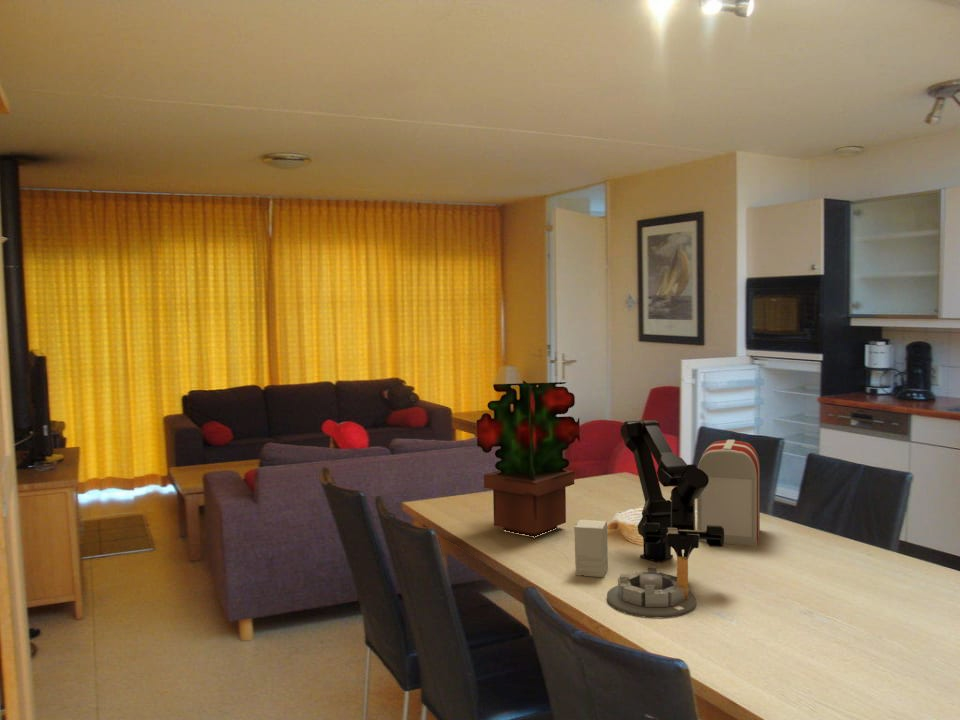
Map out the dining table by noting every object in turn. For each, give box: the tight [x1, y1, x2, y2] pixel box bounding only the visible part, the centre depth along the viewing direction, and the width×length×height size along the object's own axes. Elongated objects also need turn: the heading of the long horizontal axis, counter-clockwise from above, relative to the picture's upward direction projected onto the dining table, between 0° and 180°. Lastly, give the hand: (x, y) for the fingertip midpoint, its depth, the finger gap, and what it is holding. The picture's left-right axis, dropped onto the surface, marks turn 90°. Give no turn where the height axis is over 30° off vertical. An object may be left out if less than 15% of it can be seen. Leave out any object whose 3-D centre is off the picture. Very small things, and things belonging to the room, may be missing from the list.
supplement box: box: [573, 519, 609, 578], centre depth 203 cm, size 7×7×13 cm
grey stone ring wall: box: [617, 556, 689, 607], centre depth 183 cm, size 15×14×9 cm
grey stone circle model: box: [606, 574, 697, 618], centre depth 183 cm, size 20×20×6 cm
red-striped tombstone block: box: [696, 439, 761, 547], centre depth 233 cm, size 16×18×27 cm
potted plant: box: [476, 380, 581, 537], centre depth 242 cm, size 22×22×45 cm
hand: (683, 567), depth 186 cm, fingers closed
